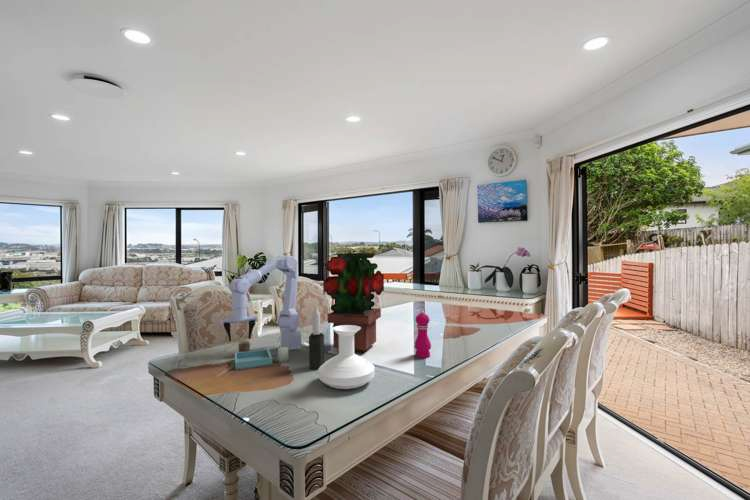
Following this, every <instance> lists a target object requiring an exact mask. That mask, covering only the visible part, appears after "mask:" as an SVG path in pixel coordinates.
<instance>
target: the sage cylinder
mask: <svg viewBox="0 0 750 500" xmlns="http://www.w3.org/2000/svg"><path fill="white" fill-rule="evenodd" d="M288 361H289V350H288V347H280V348H279V347H278V348H277V362H280V363H283V362H288Z"/></svg>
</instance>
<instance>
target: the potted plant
mask: <svg viewBox="0 0 750 500" xmlns="http://www.w3.org/2000/svg"><path fill="white" fill-rule="evenodd" d="M374 256H375V253H374V252H365V253H363V252H362V253H361V252H360V253H359V252H358V253H355V252H353V253H351V252H350V253H349V252H345V253H331V257H330V260H327V261H326V264H325V269H326V271H327V272H329V273H330V275H332V276H328V277H326V280H325V278H324V277H323V279H322V281H323V284H322V285H323V294H325V293H326V295H327V296H330V298H331V299H332V300H334V304H332V305H331V306H330V310H331V311H332V312H329V313H327V323H328V324H333V327H335V326H341V325H354V326H359V327H361V329H360V330H359V331H358V332H356V333H355V334H354V353H355V354H357V353H358V354H365V352H366V351H367V350H369V349H370V348H371V346H373V345H374V344H375V343H376V342H377V320H378V319H380V318H381V317H382V311H381V310H382V308H373V307H374V306H375V302H374V301H372V300H373V299H375V294H376V295H377V296H381V294H382V292H383V291H384V290H385V282H384V280H385V274H383V273H382V272H381V270H377V269H378V267H379V266H378V264H377V263H376V262H375V263H373V262H371V260H370V259H372V258H374ZM375 270H376V272H375ZM374 293H375V294H374ZM333 327H332V328H333ZM332 331H333V330H332ZM332 333H333V349H339V335H338V334H337V333H336V332H334V331H333V332H332Z"/></svg>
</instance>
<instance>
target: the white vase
mask: <svg viewBox="0 0 750 500" xmlns="http://www.w3.org/2000/svg"><path fill="white" fill-rule="evenodd" d="M360 329H361V327H359V326H354V325H341V326H335V327H332V328H331V330H332V331H334V332H336V333H337V334H338V335H339V348H338V354H337V355H334V356H333V357H331V358H329V359H328V360H326V361H324V364H322V365H321V366H320V368H319V369H318V370H317V376H318V378H319V380H320V381H321V382H322V383H324V385H327V386H328V387H329V388H333V389H337V390H352V389H357V388H361V387H363V386H365V385H366V384H368V383H369V381H371V380H372V379H373V378H375V375H376V370H375V369H376V367H375V365H374V364H373V363H371V361H369V360H368V359H366V358H364V357H362V356H360V355H358V354H357V353H355V352H354V334H355V333H356V332H358V331H359V330H360Z"/></svg>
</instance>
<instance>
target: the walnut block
mask: <svg viewBox="0 0 750 500" xmlns="http://www.w3.org/2000/svg"><path fill="white" fill-rule="evenodd" d="M250 344H251V343H250V339H248V340H241V341H238V347H237V348H238V352H247V351H251V349H250V348H251V347H250Z"/></svg>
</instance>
